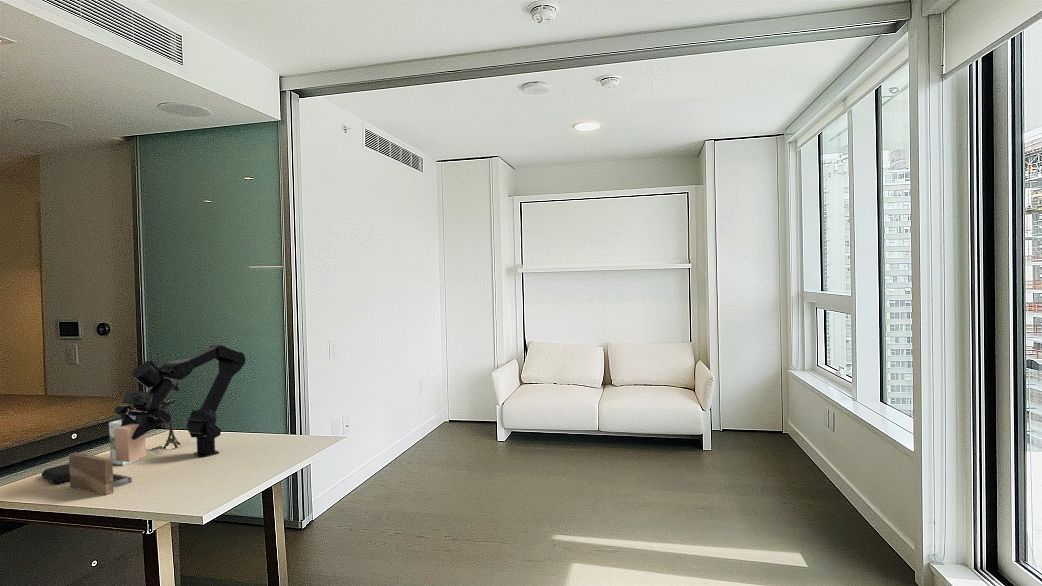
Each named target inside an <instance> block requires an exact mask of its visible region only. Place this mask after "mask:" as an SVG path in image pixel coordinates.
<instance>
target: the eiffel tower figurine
mask: <svg viewBox="0 0 1042 586" xmlns="http://www.w3.org/2000/svg"><path fill="white" fill-rule="evenodd" d="M178 441H179V440H178V439H177V437H176V436H175V432H174V429H173V420H172V415H171V421H170V422H169V433H168V437H167V440H166V441H165V444H164V445H165V446H164V447H162V445H159V446H155V448H154V447H152V449H151V448H150V449H149V452H152V451H151V450H157V451H159V450H158V449H160V450H162V449H161V448H163V449H164V450H167V449H166V446H168V445H170V443H171V444H172V445H174V446H175V448H174V449H179V448H178V446H177V445H180V444H181V442H178ZM180 446H181V445H180Z"/></svg>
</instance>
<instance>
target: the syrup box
mask: <svg viewBox="0 0 1042 586" xmlns="http://www.w3.org/2000/svg"><path fill="white" fill-rule="evenodd" d="M135 421H137V420H135ZM121 423H122V418H119V419H116V420H114V421H110V422H108V428H109V430H108V431H109V451H110V459H112V465H115V466H126V465H129V464H133V463H135V462H138V460H139V459H136V460H133V461H130V462H126V461H117V460H116V451H115V432H114V428H117V427H121Z"/></svg>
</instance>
